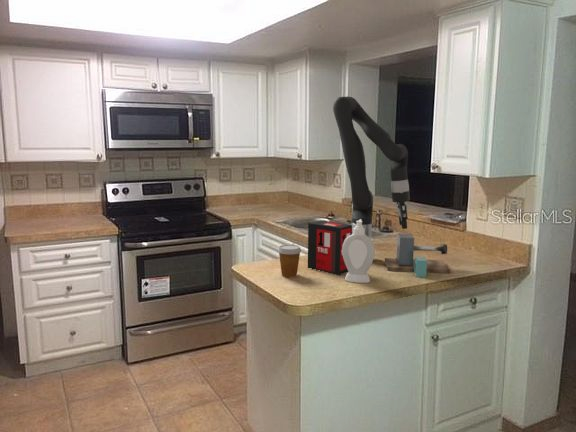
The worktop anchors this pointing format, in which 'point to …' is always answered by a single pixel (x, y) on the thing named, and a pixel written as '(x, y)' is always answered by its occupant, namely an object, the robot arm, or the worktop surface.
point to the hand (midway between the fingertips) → (403, 226)
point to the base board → (432, 266)
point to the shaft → (432, 248)
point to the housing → (405, 249)
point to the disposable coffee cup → (289, 259)
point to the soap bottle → (358, 255)
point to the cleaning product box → (327, 246)
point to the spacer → (420, 266)
